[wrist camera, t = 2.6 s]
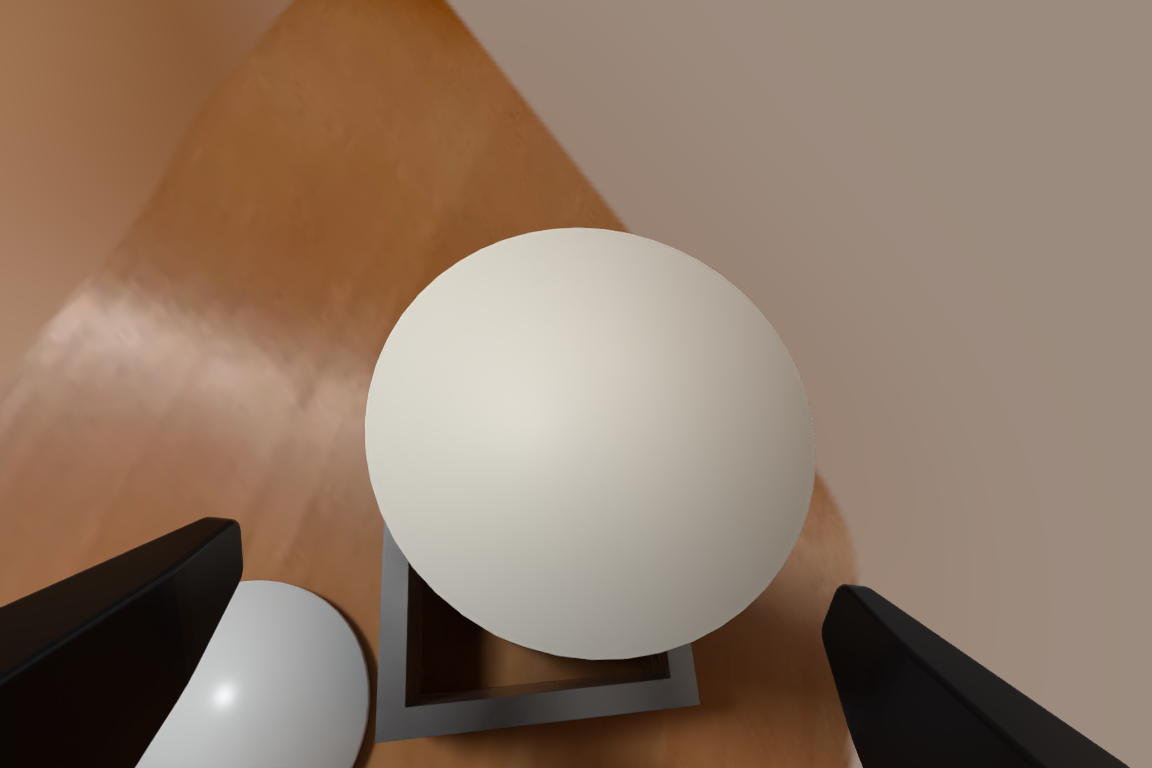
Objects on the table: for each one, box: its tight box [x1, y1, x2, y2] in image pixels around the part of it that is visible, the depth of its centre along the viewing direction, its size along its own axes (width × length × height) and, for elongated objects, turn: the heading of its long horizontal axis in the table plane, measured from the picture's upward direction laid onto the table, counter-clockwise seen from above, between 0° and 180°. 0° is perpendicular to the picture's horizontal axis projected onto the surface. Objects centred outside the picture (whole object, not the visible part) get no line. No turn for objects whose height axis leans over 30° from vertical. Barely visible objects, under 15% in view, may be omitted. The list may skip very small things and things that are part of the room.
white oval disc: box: [135, 581, 370, 768], centre depth 15 cm, size 6×6×1 cm
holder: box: [375, 520, 700, 743], centre depth 16 cm, size 7×7×3 cm
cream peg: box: [365, 228, 816, 660], centre depth 11 cm, size 4×4×13 cm
